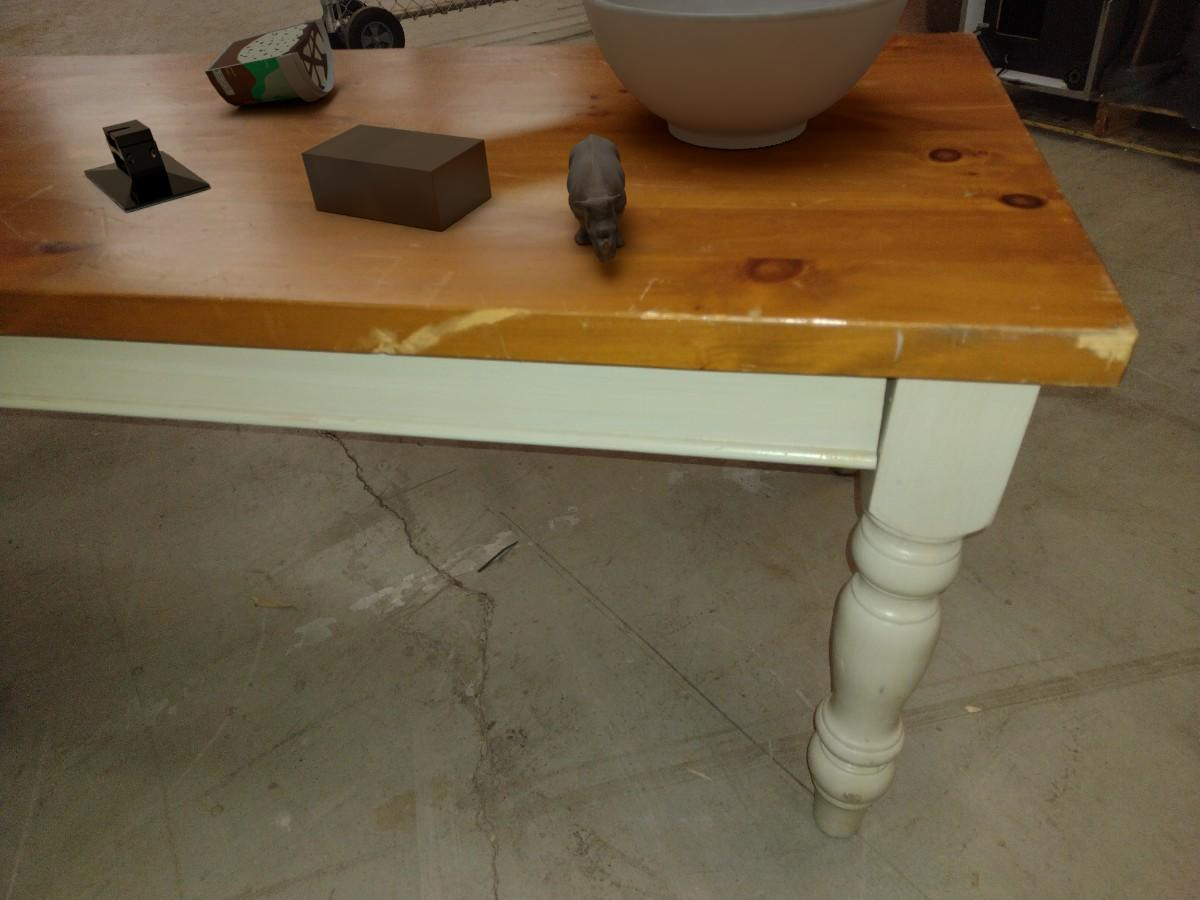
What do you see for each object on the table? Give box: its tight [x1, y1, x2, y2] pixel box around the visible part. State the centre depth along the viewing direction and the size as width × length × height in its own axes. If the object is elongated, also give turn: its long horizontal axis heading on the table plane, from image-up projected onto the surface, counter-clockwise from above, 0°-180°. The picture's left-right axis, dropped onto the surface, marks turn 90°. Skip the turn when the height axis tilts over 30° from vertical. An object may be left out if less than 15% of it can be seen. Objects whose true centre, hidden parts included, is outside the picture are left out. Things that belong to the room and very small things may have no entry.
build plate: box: [83, 119, 211, 213], centre depth 74 cm, size 12×7×5 cm, turn 40°
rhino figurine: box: [566, 133, 628, 264], centre depth 59 cm, size 4×14×6 cm, turn 2°
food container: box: [204, 17, 336, 107], centre depth 91 cm, size 12×6×10 cm
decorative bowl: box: [581, 0, 909, 150], centre depth 75 cm, size 27×27×12 cm
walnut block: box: [300, 124, 493, 232], centre depth 67 cm, size 4×7×12 cm
